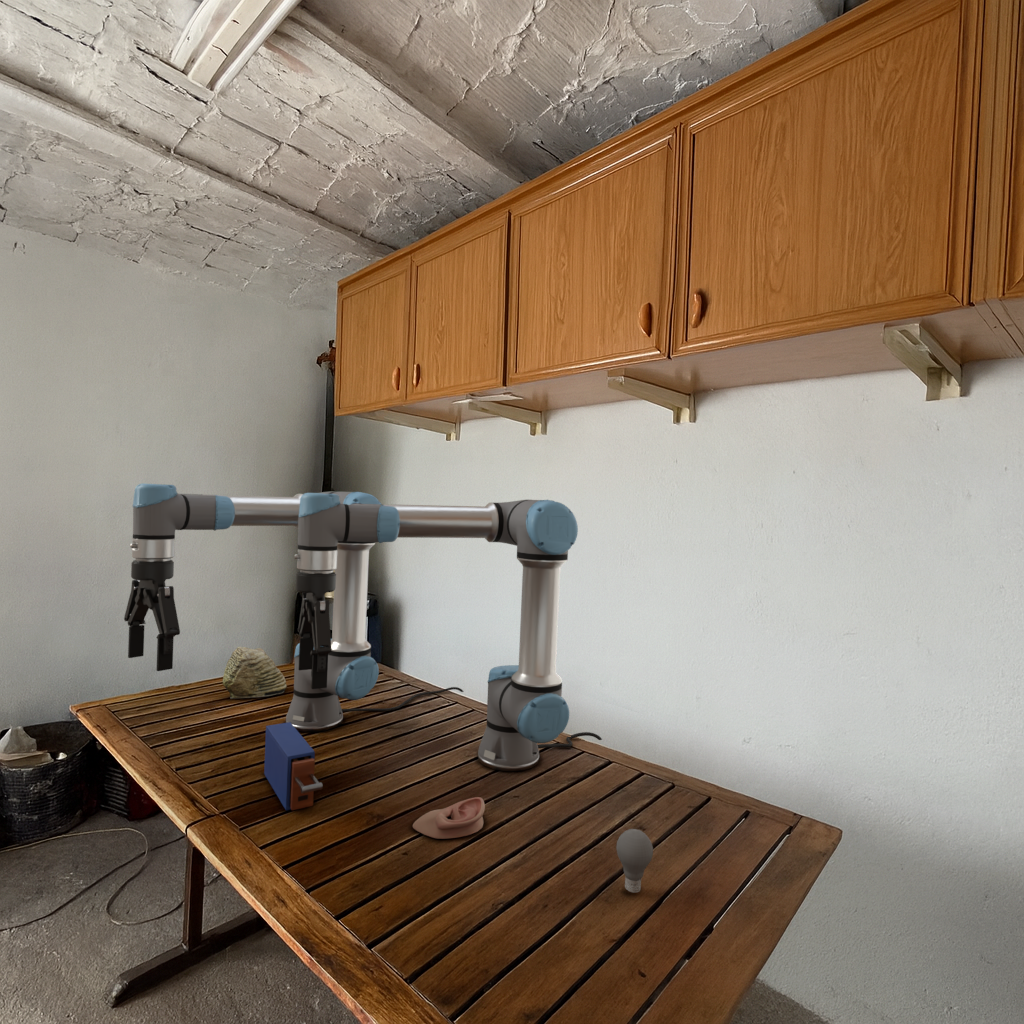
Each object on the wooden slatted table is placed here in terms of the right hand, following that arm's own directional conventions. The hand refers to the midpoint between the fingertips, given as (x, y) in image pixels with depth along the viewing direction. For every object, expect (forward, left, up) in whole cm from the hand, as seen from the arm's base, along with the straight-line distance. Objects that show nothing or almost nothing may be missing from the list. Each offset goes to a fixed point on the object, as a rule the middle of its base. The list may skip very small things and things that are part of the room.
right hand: (311, 678), depth 125 cm
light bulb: (-48, +43, -28) cm, 70 cm away
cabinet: (+3, -13, -28) cm, 31 cm away
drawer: (+2, -8, -27) cm, 28 cm away
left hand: (+30, -18, 0) cm, 35 cm away
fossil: (+8, -82, -28) cm, 87 cm away
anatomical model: (-26, +12, -28) cm, 40 cm away
